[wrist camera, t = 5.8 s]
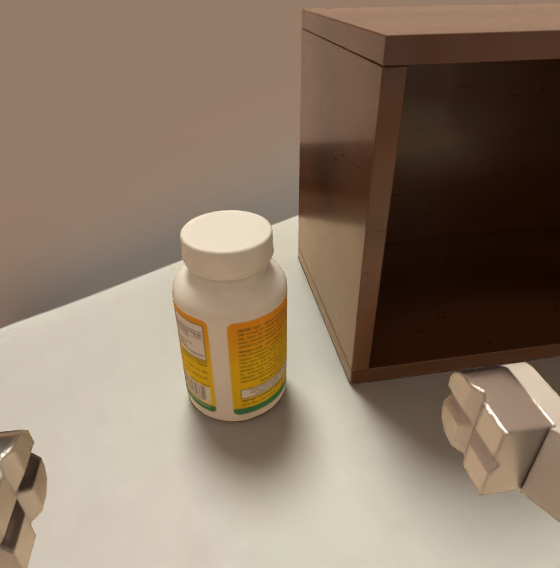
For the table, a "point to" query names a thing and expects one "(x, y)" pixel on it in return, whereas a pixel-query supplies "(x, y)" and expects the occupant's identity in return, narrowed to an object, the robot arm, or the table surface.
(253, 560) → the table surface
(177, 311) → the supplement bottle
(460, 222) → the cabinet
